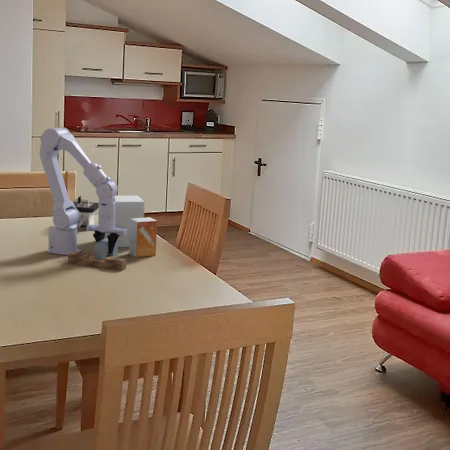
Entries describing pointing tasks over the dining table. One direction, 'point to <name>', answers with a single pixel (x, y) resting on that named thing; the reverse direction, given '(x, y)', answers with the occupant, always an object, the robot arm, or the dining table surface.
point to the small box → (142, 237)
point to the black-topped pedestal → (85, 211)
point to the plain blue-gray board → (103, 249)
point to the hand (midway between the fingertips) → (106, 253)
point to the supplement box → (126, 215)
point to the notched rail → (97, 261)
